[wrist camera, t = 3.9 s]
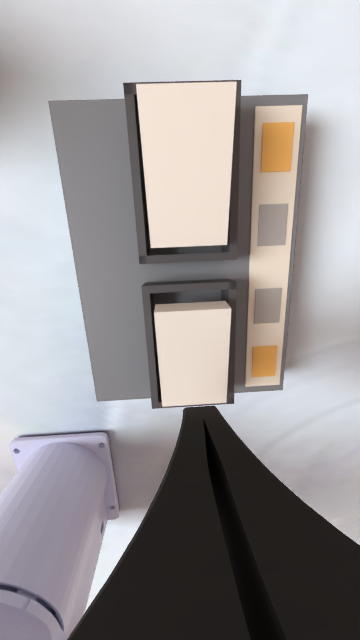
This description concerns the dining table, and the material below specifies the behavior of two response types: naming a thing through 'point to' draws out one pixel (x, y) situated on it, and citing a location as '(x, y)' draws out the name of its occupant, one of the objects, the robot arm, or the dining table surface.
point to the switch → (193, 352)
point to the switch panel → (180, 262)
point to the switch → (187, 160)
